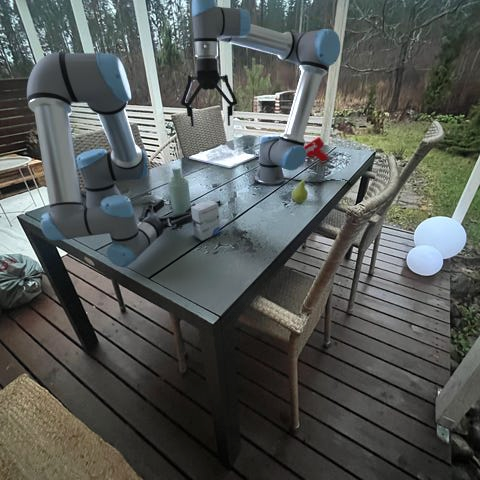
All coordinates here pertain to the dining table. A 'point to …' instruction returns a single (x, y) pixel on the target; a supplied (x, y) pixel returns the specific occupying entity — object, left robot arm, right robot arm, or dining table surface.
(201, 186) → the dining table surface
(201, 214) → the ink box
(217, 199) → the cap
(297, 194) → the fruit
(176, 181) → the bottle
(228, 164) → the relief map
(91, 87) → the left robot arm
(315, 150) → the toy gun
